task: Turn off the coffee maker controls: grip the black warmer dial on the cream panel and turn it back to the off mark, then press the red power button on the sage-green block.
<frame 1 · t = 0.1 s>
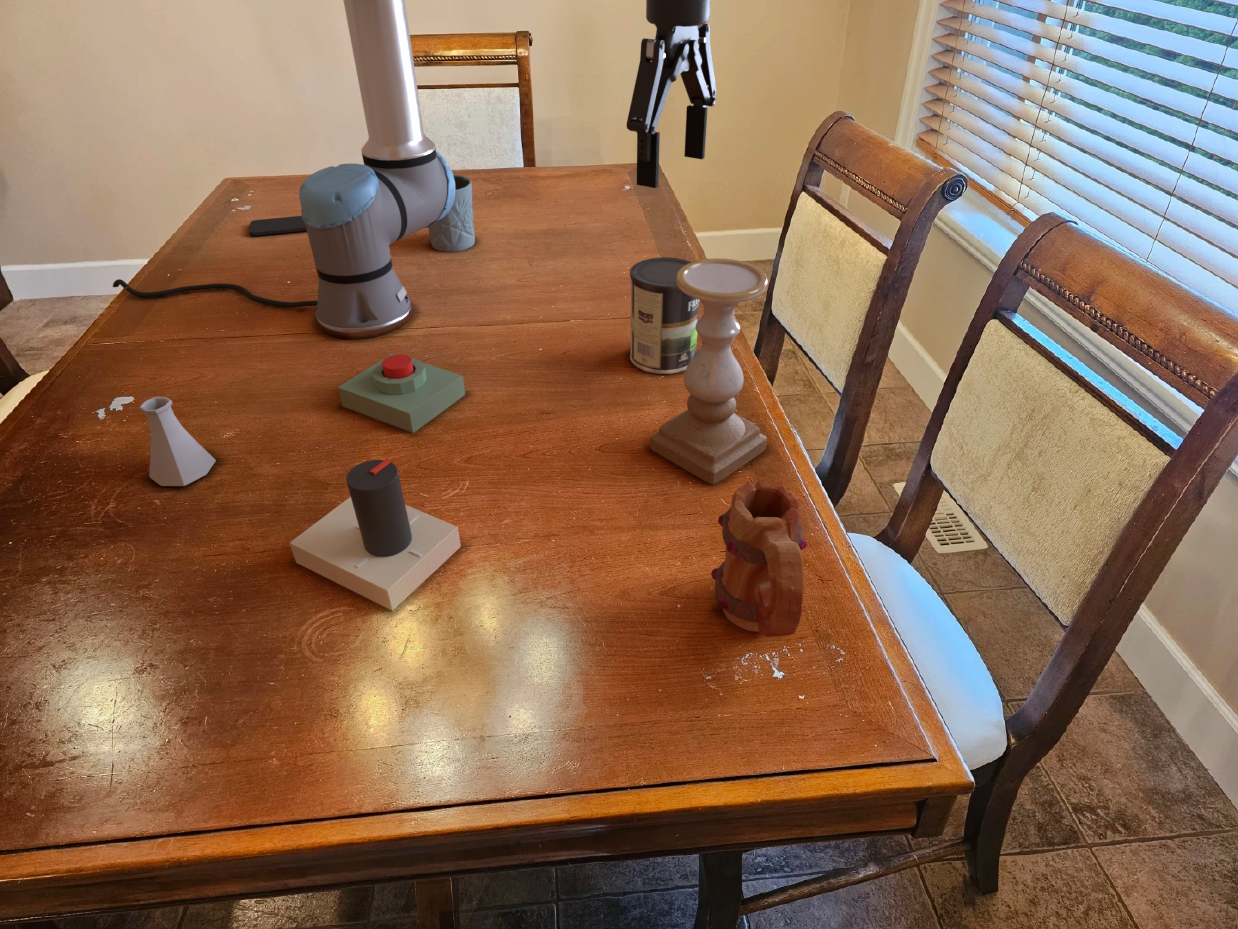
hand: (671, 171, 105), 28 cm above the table, tool pointing down, fingers open, 13 cm apart
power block: (404, 400, 112), on the table
coffee can: (662, 358, 122), on the table
candle holder: (707, 449, 103), on the table
power button: (397, 366, 109), point 5 cm above the table, slide at 0.1 cm
mug: (756, 629, 79), on the table
dial panel: (379, 554, 88), on the table
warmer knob: (380, 507, 82), point 8 cm above the table, hinge at 90.0°
flask: (184, 471, 100), on the table
phone: (289, 227, 165), on the table
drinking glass: (452, 244, 158), on the table
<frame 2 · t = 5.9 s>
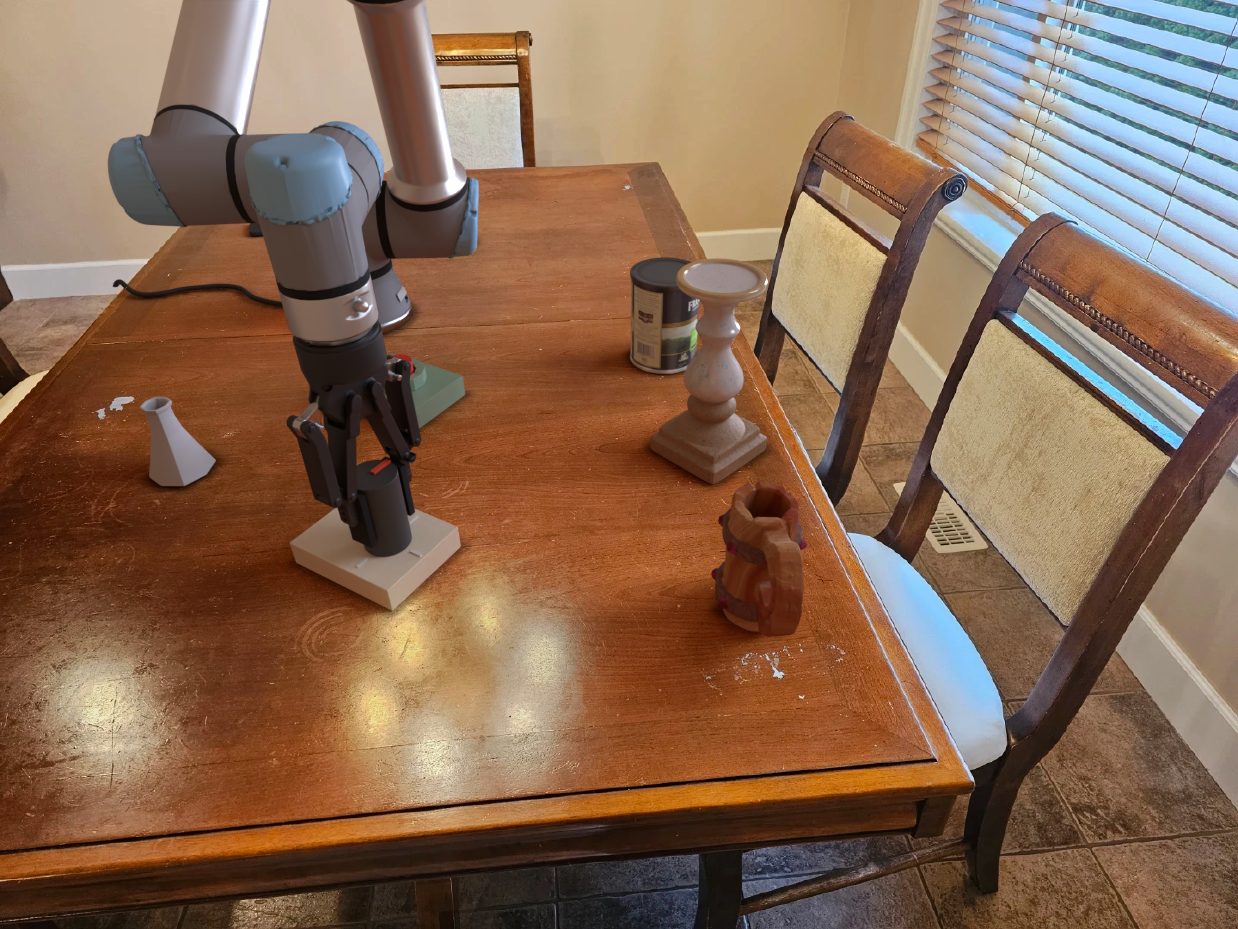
hand: (384, 525, 84), 5 cm above the table, tool pointing down, fingers closed on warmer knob, 5 cm apart
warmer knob: (380, 507, 82), point 8 cm above the table, hinge at 90.0°, touching gripper
everything else where it was.
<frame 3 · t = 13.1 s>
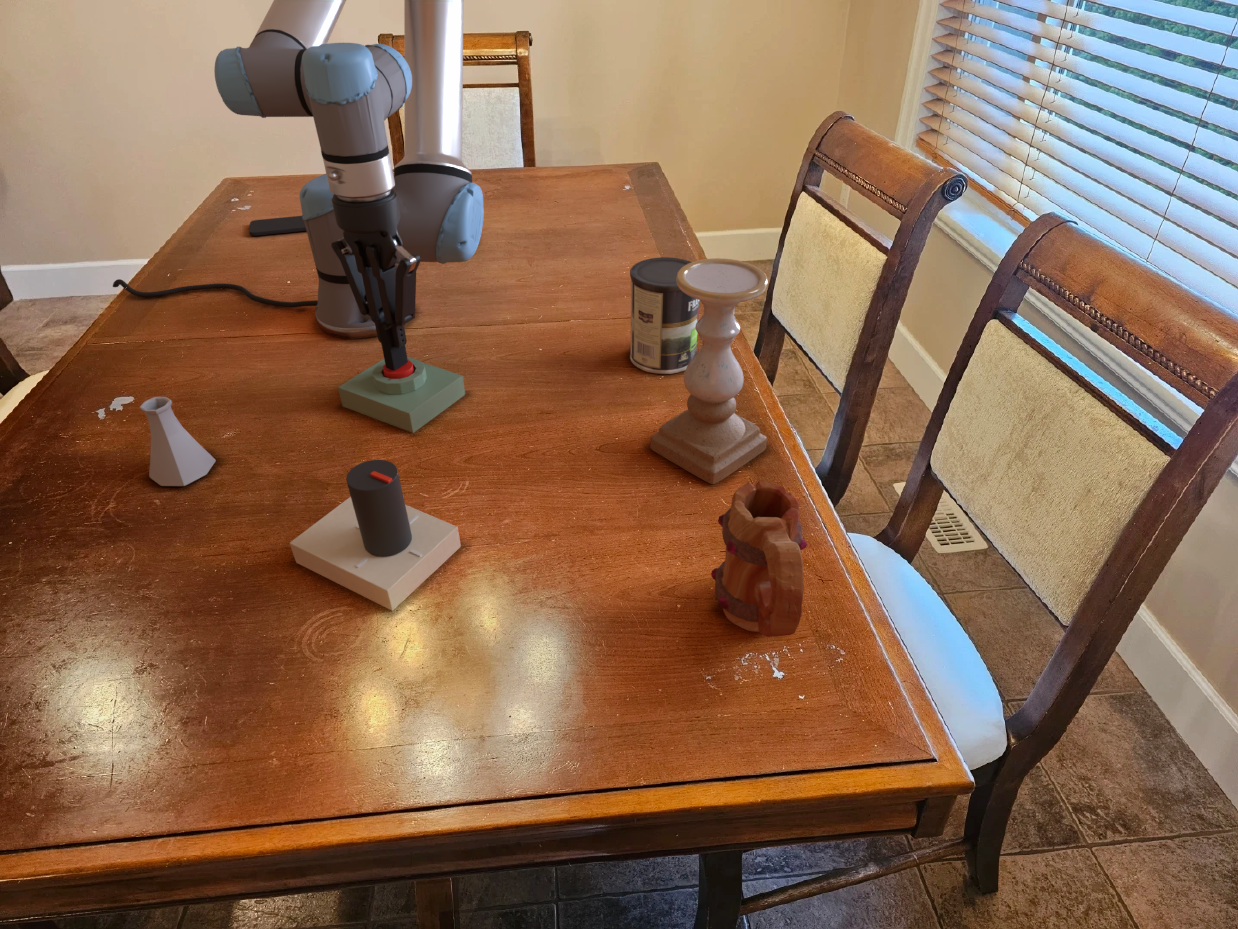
hand: (397, 364, 109), 6 cm above the table, tool pointing down, fingers closed
power button: (398, 371, 109), point 5 cm above the table, slide at -0.6 cm, touching gripper
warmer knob: (380, 507, 82), point 8 cm above the table, hinge at 0.7°
everything else where it was.
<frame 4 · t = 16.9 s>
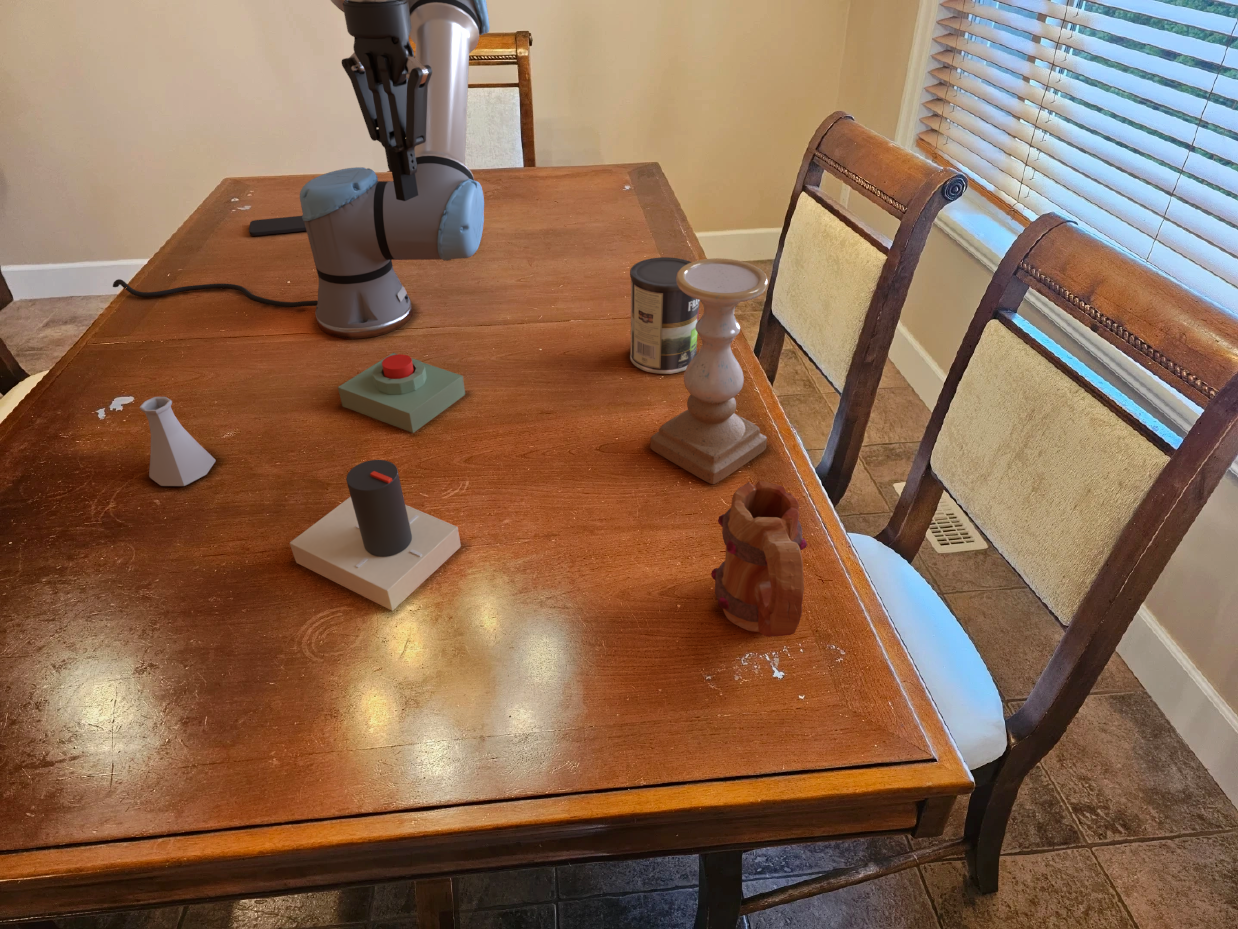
hand: (407, 197, 108), 24 cm above the table, tool pointing down, fingers closed
power button: (397, 366, 109), point 5 cm above the table, slide at 0.1 cm
everything else where it was.
at the end: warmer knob at +1° (first picture: +90°); power button pushed in 1.0 cm at the most during the clip, back to where it started at the end; power button slide at 0.1 cm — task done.
